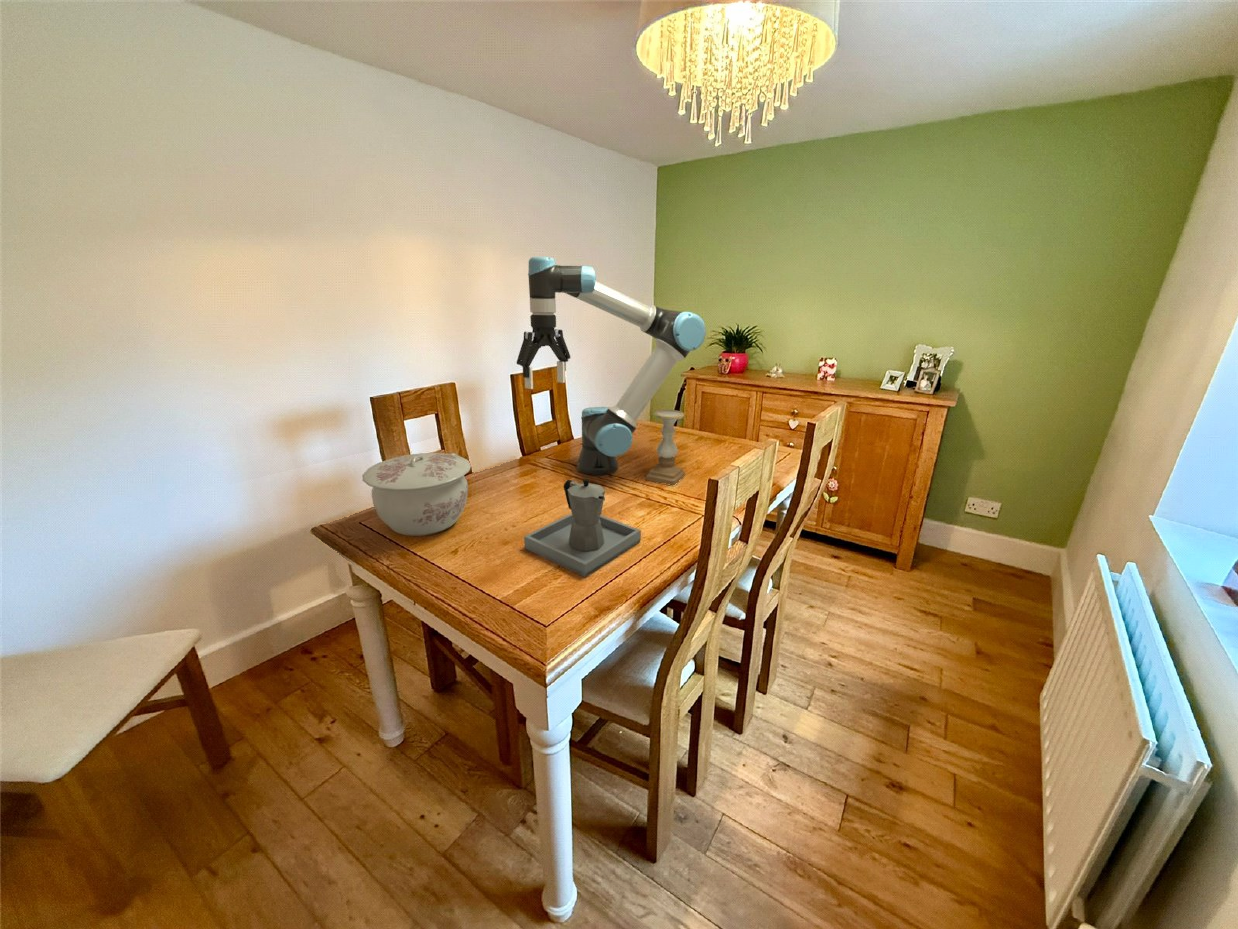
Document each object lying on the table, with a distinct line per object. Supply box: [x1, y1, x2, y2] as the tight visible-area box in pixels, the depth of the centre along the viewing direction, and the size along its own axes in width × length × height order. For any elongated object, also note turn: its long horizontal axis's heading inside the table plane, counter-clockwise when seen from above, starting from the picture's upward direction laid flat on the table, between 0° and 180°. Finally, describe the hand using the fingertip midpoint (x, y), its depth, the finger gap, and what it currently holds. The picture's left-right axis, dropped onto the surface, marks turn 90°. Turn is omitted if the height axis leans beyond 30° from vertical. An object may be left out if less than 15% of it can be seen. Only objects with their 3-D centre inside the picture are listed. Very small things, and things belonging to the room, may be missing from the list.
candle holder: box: [645, 409, 686, 486], centre depth 169 cm, size 11×11×24 cm
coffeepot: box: [563, 478, 606, 551], centre depth 124 cm, size 15×9×18 cm, turn 44°
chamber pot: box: [361, 452, 472, 537], centre depth 134 cm, size 28×28×21 cm
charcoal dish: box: [523, 512, 642, 578], centre depth 127 cm, size 22×21×4 cm
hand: (545, 385), depth 151 cm, fingers open, 13 cm apart
